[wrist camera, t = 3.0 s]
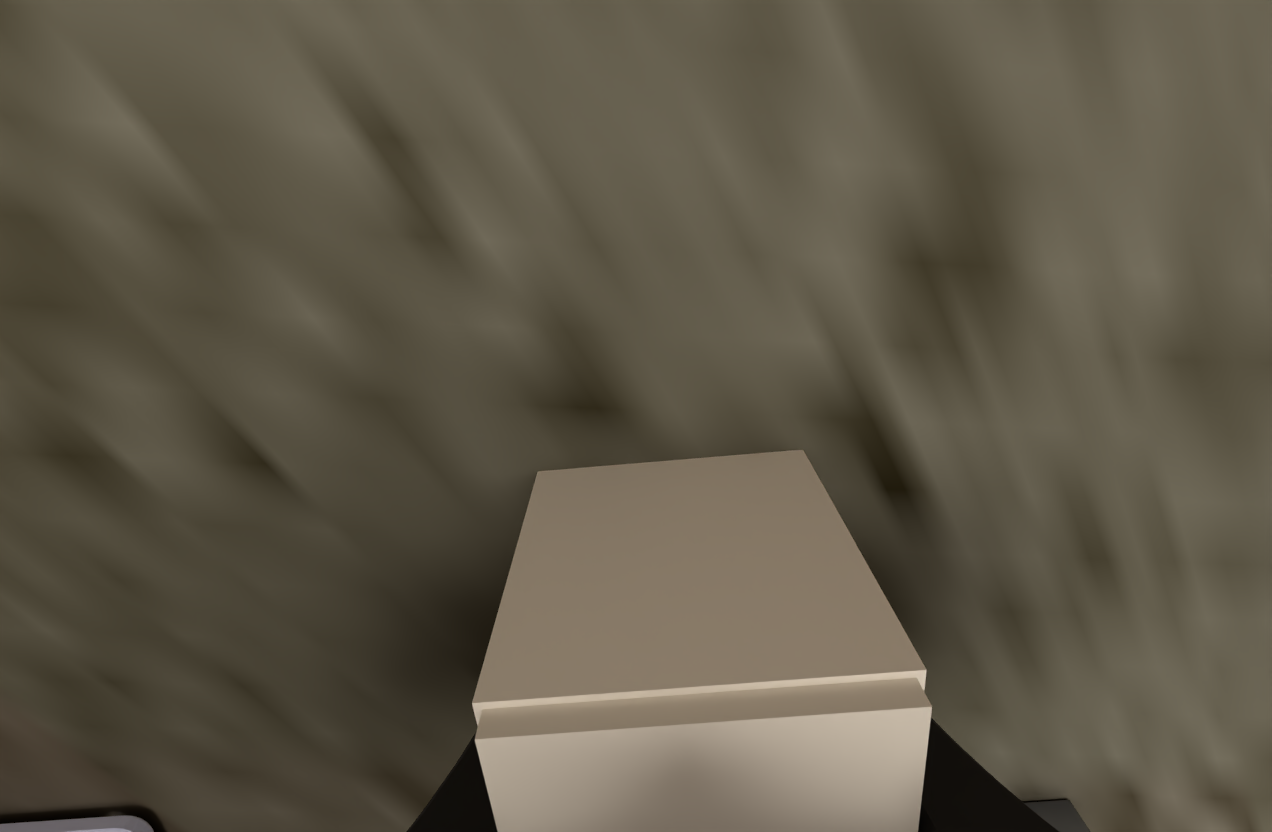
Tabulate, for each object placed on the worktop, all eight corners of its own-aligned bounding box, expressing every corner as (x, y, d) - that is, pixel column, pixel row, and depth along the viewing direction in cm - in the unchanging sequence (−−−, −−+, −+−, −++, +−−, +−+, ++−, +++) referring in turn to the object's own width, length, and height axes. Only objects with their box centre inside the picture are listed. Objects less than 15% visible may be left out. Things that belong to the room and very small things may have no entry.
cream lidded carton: (587, 770, 16) (563, 1119, 10) (537, 470, 12) (463, 733, 7) (799, 756, 15) (894, 1100, 10) (802, 448, 12) (942, 699, 7)
